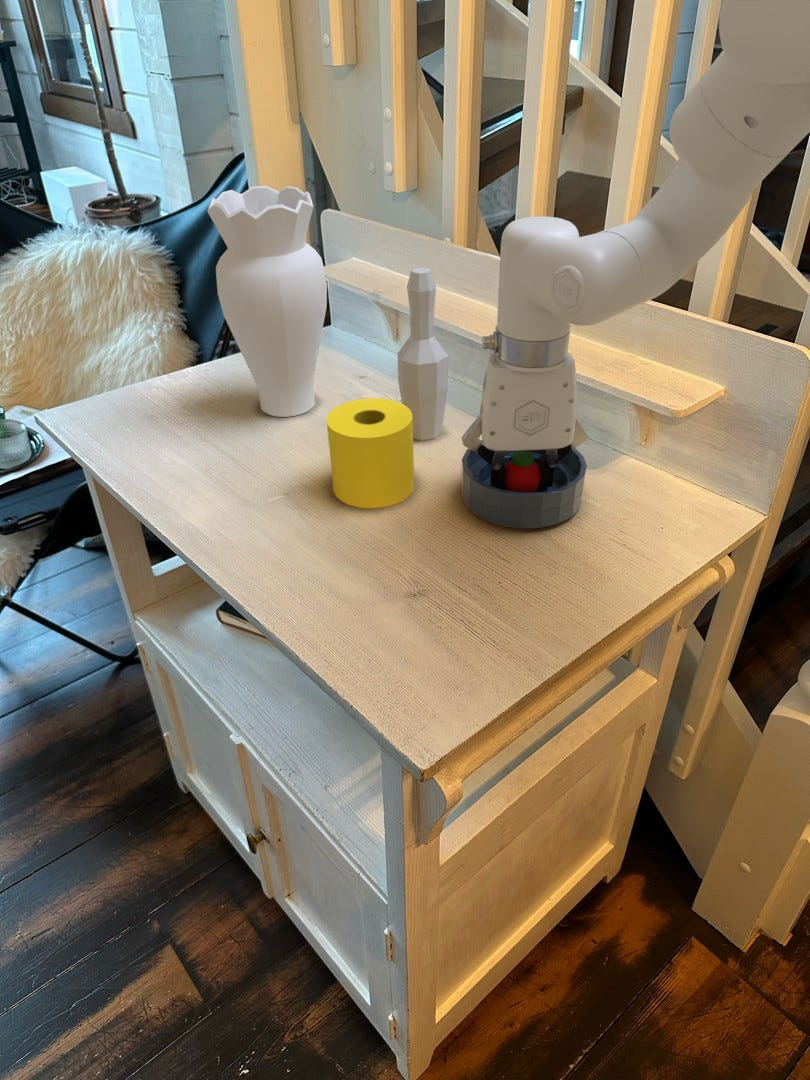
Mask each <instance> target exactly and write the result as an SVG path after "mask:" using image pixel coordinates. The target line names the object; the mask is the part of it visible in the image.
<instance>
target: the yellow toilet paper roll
mask: <svg viewBox="0 0 810 1080" xmlns="http://www.w3.org/2000/svg"><path fill="white" fill-rule="evenodd" d="M326 426H327V427H326V428H327V438H328V447H329V449H328V450H329V458H330V459H329V460H330V468H331V477H332V487H333V488H332V489H333V493H334V495H335V496H336V498H337V499H338V500H339V501H341V502H342V503H344V504H346V505H348V506H351V507H354V508H360V509H381V508H387V507H391V506H394V505H397V504H400V503H401V502H403V501H404V500H406V499H407V498H408V497H410V495H412V493H413V491H414V490H415V463H414V462H415V461H414V459H415V458H414V438H413V419H412V412H411V410H410V409H409V408H408V407H407V406H405V405H403V404H402V402H399V401H396V400H393V399H387V398H378V397H373V398H372V397H369V398H360V399H359V398H358V399H355V400H350V401H347V402H344V403H341V404H339V405H338V406H335V407H334V408H332V409H331V410H330V411H329V412H328V414H327V416H326Z"/></svg>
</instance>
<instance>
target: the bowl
mask: <svg viewBox="0 0 810 1080" xmlns="http://www.w3.org/2000/svg"><path fill="white" fill-rule="evenodd" d="M480 440H481V441H483V439H480ZM517 452H528V453H531V454H533V455H534V462H535V463H536V464H537V465H538V459H539V458H540V455H542V454H543V453H544V452H543V450H526V451H507V452H506V455H505V458H504V461H503V462H504V466H506V465H507V464H508V463H509V462H510V461H512V455H513V454H514V453H517ZM587 468H588V464H587V462H586V459H585V457H584V455H583V454H582V453H581V452H580V451H579V449H577V448H573V449H572V450H571V452H569V453H568V454H567V455H566V456H565V457H563V458H562V459H561V460H560V461H559V462H558V465H557V466H556V467H555V468H554V474H553V484H552V487H548V491H545V492H539V491H538V489H537V490H536V491H535V492H533V493H520V492H513V491H507V489H506V488H505V490H501V489H498V488H495V487H492V486H491V484H490V479H491V465H490V464H489V463H487V462H486V461H485V460H484V459H483V458H482V457H480V456H479V454H478V453H476V452H474V451H472V450H470V449H469V448H467V449H466V450H465V452H464V454H463V456H462V458H461V479H460V480H461V482H460V489H461V491H460V493H461V501H462V502H463V504H464V505H465V506H466V508H467V509H468V510H469V512H471V513H473V515H475V516H477V517H479V518H480V519H481V520H484V521H486V522H489V523H492V524H495V525H498V526H501V527H507V528H514V529H541V528H545V527H546V528H547V527H550V526H554V525H558V524H561V523H562V522H564V521H567V520H568V519H570V518H572V517H574V515H575V514H576V513H577V512H578V511H579V510H580V509H581V507H582V503H583V499H584V493H585V492H584V491H585V485H586V478H587V470H588V469H587Z"/></svg>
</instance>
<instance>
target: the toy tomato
mask: <svg viewBox="0 0 810 1080" xmlns="http://www.w3.org/2000/svg"><path fill="white" fill-rule="evenodd" d="M505 469H506V481H505V488H506V489H507V491H513V492H520V493H533V492H535V491H536V490H537V489H538V487H539V486H540V483H541V470H540V468H539V466H538V465H537V464H536V463H535V462H534V455H533V454H531V453H528V452H517V453H514V454H513V455H512V461H510V462H509V463H508V464H507V465H506V466H505Z"/></svg>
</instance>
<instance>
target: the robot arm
mask: <svg viewBox="0 0 810 1080" xmlns="http://www.w3.org/2000/svg"><path fill="white" fill-rule="evenodd" d="M718 15H719V19H718V33H719V39H720V46H721V49H722V51H721V52H720V54H719V55H718V56H717V57H716V58H715V59H714V61H712V62H713V63H711V65H710V66H709V67H708V68H707V70H706V71H705V72H704V73H703V74H702V75H701V77H700V78H699V79H698V81H697V82H696V83H695V84H694V85H693V87H692V88H691V89H690V91H689V92H688V93H687V94H686V95H685V97H684V98H682V100H681V102H680V103H679V104H678V106H677V107H676V108H675V110H674V111H673V113H672V116H671V119H670V122H669V129H668V130H669V133H668V134H669V139H670V143H671V146H672V148H673V150H674V153H675V154H676V157H677V158H678V159H677V161H676V164H675V165H674V168H673V169H672V171H671V173H670V174H669V175H668V177H667V178H666V180H665V181H664V182H663V183H662V185H661V186H660V187H659V189H658V190H657V191H656V192H655V194H653V196H652V197H651V198H650V199H649V201H647V203H646V204H645V205H644V206H643V207H642V208H641V210H639V212H638V213H636V214H635V216H634V217H633V218H631V220H629V221H628V222H626V223H623V224H622V223H621V224H620V225H619V224H618V225H616V226H612V227H610V228H606V229H604V230H601V231H598V232H596V233H591V234H587V235H582V236H580V233H579V230H578V228H577V226H576V225H575V224H574V223H573V222H572V221H569V220H567V219H564V218H560V217H554V216H545V215H543V216H539V215H538V216H536V215H535V216H526V217H521V218H518V219H516V220H512V221H511V222H509V223H508V224H507V225H506V227H505V228H504V230H503V231H502V234H501V238H500V239H501V240H500V254H499V255H500V256H499V278H498V296H497V317H496V325H495V328H494V329H495V331H493V333H492V334H489V335H485V336H483V335H482V340H481V347H482V350H489V351H493V352H492V353H491V354H490V355H489V357H488V361H487V365H486V369H485V370H486V371H485V373H484V379H483V385H482V393H481V402H480V410H479V414H478V416H477V417H476V418H475V420H474V421H473V422H472V423H471V425H470V426H469V427H468V428H467V430H465V432H464V433H463V435H462V436H461V441H462V444H463V446H464V447H465V448H467V449H468V448H469V449H470V450H472V451H474V452H476V453H478V454H479V456H480V457H482V458H483V459H484V460H485V461H486V462H487V463H489V464H490V465H491V479H490V484H491V486H492V487H495V488H498V489H501V490H505V481H506V469H505V466H504V462H503V461H504V458H505V455H506V452H507V451H526V450H543V452H544V453H543V454H542V455H540V458H539V459H538V466H539V468H540V470H541V483H540V486H539V487H538V491H539V492H545V491H548V487H552V484H553V474H554V468H555V467H556V466H557V465H558V462H559V461H560V460H561V459H562V458H563V457H565V456H566V455H567V454H568V453H569V452H571V450H572V449H573V448H575V449H577V447H579V446H581V445H583V443H585V442H587V441H588V439H589V436H588V433H587V432H586V429H585V428H584V427H583V426H582V424H581V423H580V421H579V420H578V418H577V416H576V415H577V414H576V413H577V370H576V369H577V368H576V361H575V358H574V357H573V356H572V355H571V353H569V345H570V344H569V343H570V335H571V325H575V326H579V327H580V326H581V327H587V326H588V327H589V326H593V325H597V324H600V323H603V322H605V321H607V320H609V319H611V318H614V317H616V316H618V315H620V314H623V313H625V312H626V311H628V310H630V309H632V308H635V307H638V306H639V305H642V304H644V303H647V302H650V301H652V300H654V299H656V298H658V297H659V296H661V295H662V294H664V293H665V292H666V291H668V290H669V289H670V288H672V287H673V286H674V285H675V284H676V283H677V282H678V281H679V280H680V279H682V277H684V276H685V275H686V274H687V273H688V272H689V271H690V270H691V269H692V268H693V267H694V266H695V265H696V264H697V263H698V262H699V261H700V260H701V259H702V258H703V257H704V256H705V255H706V254H707V253H708V252H709V251H710V250H711V249H712V248H713V247H714V246H715V245H716V244H717V243H718V242H719V241H720V239H721V238H722V237H723V236H725V234H726V233H727V232H728V231H729V230H730V228H731V227H732V225H733V224H734V222H735V221H736V220H737V218H738V217H739V215H740V214H741V213H742V210H743V209H744V208H745V207H746V206H747V204H748V203H749V201H750V199H751V196H752V194H753V192H754V191H755V190H756V188H757V187H758V185H759V184H760V183H761V182H763V180H764V179H765V178H766V177H767V176H768V175H769V174H770V173H771V172H772V171H773V170H774V169H775V168H776V167H777V166H778V165H779V164H780V163H781V162H783V160H784V159H785V158H786V157H787V156H788V155H789V154H790V152H791V151H793V150H794V148H795V147H797V146H798V145H799V143H800V142H802V141H803V140H804V138H806V136H807V135H809V133H810V0H721V5H720V10H719V14H718ZM480 437H481V439H480ZM481 440H483V441H481Z"/></svg>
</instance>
